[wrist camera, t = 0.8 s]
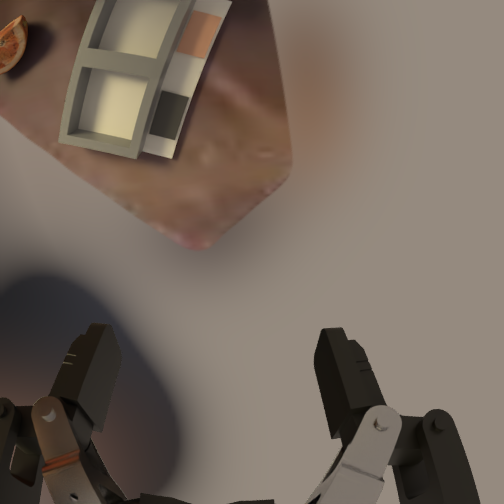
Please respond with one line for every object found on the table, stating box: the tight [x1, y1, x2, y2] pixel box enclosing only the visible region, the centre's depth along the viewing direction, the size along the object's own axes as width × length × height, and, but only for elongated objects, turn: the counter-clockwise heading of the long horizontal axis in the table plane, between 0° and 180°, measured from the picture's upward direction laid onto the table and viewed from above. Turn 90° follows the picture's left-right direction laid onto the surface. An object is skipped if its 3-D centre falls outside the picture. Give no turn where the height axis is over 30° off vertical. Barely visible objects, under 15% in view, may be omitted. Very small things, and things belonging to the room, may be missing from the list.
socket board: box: [58, 0, 232, 159], centre depth 23 cm, size 13×19×4 cm
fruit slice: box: [0, 15, 28, 75], centre depth 16 cm, size 8×7×5 cm
